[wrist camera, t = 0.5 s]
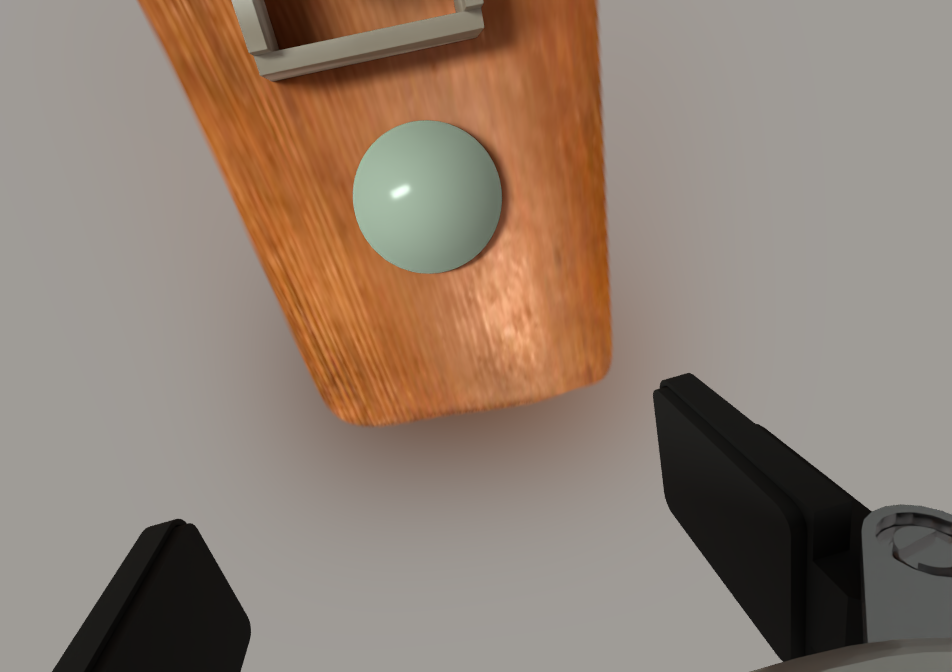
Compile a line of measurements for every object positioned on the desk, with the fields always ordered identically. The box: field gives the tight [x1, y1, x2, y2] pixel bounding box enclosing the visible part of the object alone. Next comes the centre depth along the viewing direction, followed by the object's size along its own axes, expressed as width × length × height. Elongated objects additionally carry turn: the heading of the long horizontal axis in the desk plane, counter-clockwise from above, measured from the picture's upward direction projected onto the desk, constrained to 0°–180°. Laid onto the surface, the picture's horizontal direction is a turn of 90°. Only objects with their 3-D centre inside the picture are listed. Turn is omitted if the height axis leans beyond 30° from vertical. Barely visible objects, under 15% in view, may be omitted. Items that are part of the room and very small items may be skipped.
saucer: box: [353, 120, 502, 273], centre depth 35 cm, size 10×10×1 cm
